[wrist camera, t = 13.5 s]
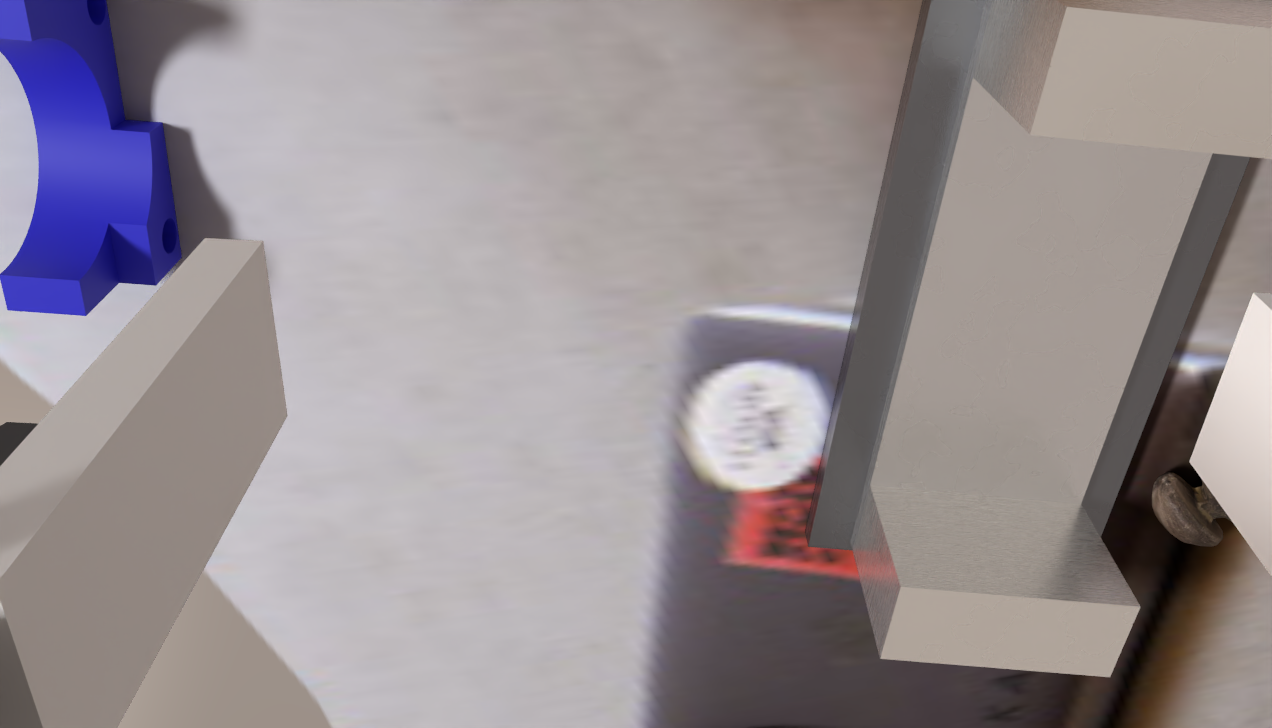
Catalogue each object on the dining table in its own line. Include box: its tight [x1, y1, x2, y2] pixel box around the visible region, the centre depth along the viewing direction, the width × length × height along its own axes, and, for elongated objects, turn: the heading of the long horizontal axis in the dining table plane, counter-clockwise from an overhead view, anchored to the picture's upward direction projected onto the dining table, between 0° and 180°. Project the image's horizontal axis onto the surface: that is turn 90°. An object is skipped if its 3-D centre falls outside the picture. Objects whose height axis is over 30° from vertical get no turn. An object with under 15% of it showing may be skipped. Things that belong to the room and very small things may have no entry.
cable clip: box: [0, 0, 182, 316], centre depth 41 cm, size 12×4×6 cm, turn 176°
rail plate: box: [805, 0, 1272, 677], centre depth 43 cm, size 28×14×9 cm, turn 174°
